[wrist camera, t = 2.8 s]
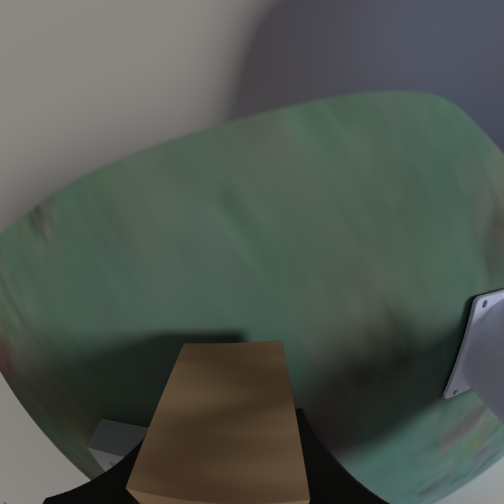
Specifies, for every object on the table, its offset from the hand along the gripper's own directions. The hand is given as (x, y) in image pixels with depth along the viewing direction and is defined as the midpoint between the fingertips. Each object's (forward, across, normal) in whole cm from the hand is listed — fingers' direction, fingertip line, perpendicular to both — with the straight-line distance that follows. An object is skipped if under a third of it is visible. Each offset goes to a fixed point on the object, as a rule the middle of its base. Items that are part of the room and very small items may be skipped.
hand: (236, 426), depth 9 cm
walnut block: (+2, 0, 0) cm, 2 cm away
